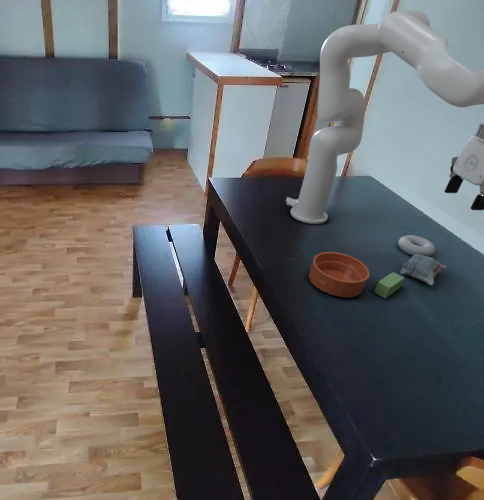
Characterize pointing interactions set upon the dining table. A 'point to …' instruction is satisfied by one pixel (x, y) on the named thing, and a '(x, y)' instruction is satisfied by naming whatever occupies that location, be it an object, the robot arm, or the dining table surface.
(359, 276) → the bowl
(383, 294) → the bar
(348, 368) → the dining table surface
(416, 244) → the donut
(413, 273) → the packaged food
